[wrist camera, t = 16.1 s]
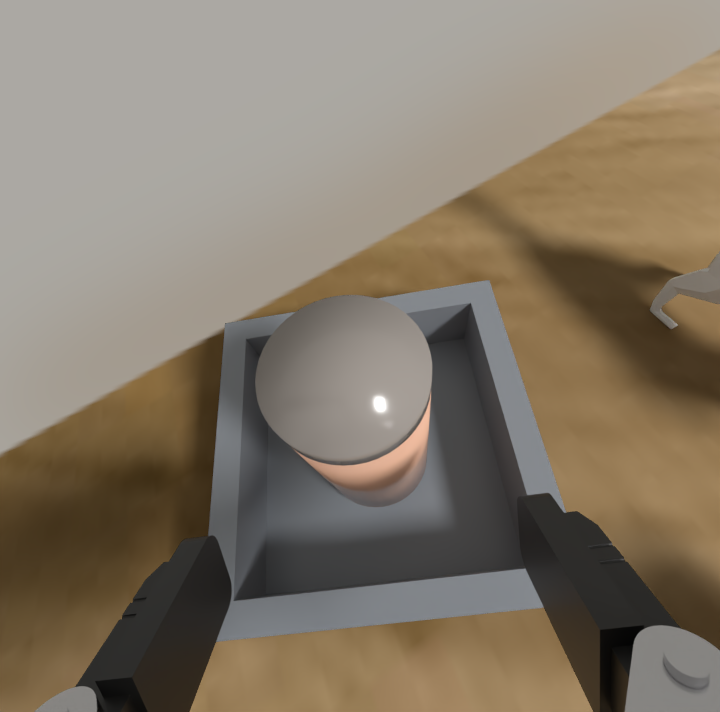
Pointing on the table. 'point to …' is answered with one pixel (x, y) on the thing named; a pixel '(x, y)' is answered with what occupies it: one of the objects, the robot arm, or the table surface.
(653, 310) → the cat figurine
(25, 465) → the table surface
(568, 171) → the table surface
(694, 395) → the table surface
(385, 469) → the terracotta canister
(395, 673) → the table surface
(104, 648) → the robot arm
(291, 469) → the bin
